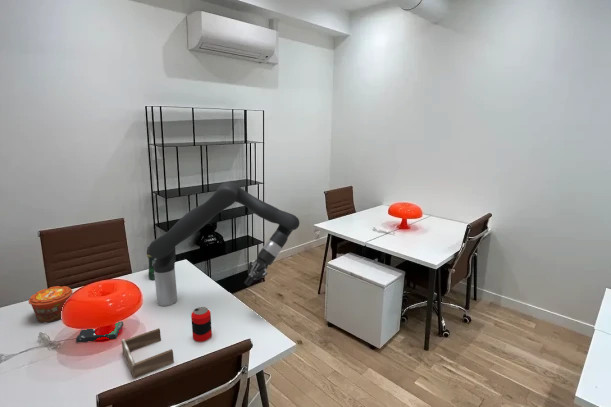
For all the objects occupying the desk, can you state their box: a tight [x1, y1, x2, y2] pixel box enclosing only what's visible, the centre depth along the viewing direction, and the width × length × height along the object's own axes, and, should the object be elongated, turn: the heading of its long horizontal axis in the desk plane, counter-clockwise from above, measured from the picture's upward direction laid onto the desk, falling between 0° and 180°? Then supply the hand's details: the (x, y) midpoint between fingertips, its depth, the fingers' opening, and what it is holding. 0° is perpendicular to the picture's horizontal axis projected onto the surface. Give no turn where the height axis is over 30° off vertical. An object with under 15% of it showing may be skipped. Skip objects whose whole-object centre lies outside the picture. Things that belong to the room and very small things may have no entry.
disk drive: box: [75, 320, 124, 343], centre depth 145 cm, size 10×3×15 cm
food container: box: [28, 285, 73, 323], centre depth 157 cm, size 16×16×11 cm
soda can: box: [190, 306, 213, 343], centre depth 143 cm, size 8×8×12 cm
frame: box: [121, 327, 175, 379], centre depth 131 cm, size 17×14×6 cm
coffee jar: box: [146, 245, 156, 281], centre depth 194 cm, size 10×8×19 cm
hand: (246, 284), depth 152 cm, fingers closed
